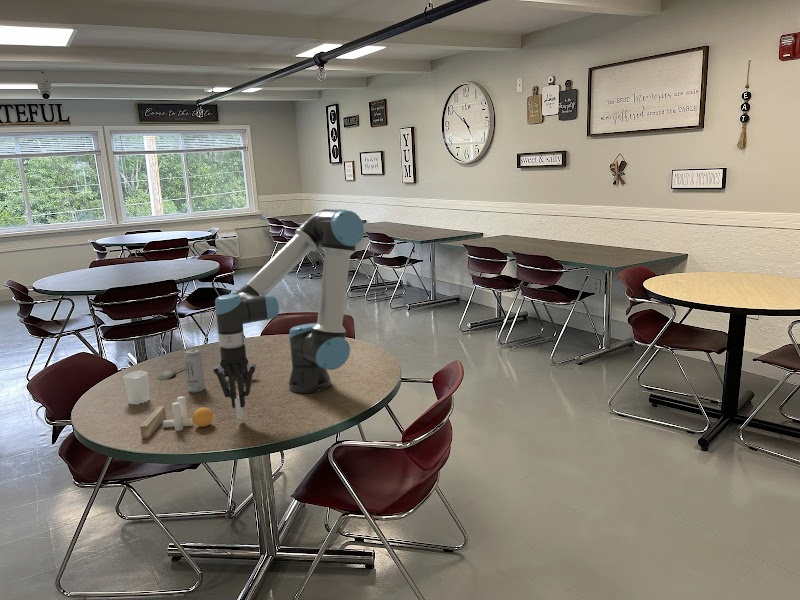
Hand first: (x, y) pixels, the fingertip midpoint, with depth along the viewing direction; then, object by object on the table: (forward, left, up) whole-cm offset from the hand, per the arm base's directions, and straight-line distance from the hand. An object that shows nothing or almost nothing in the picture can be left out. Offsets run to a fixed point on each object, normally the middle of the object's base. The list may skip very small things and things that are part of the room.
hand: (240, 416), depth 191 cm
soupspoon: (+37, -57, -3) cm, 68 cm away
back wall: (+27, 0, -2) cm, 27 cm away
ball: (+11, +1, +1) cm, 11 cm away
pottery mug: (+9, -41, -2) cm, 42 cm away
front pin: (+15, 0, -1) cm, 15 cm away
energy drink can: (+23, -33, -2) cm, 40 cm away
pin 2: (+18, +2, -2) cm, 19 cm away
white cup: (+41, -25, -2) cm, 48 cm away
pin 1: (+18, -2, -2) cm, 19 cm away
